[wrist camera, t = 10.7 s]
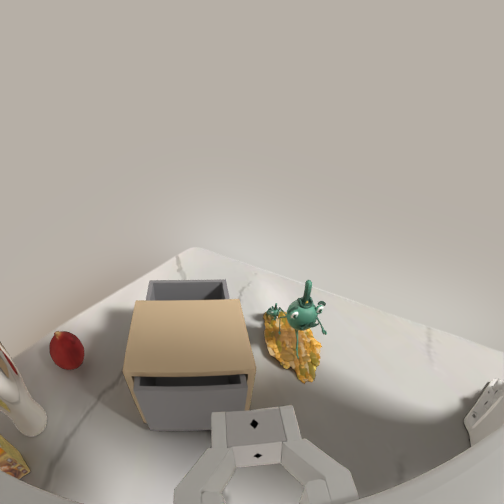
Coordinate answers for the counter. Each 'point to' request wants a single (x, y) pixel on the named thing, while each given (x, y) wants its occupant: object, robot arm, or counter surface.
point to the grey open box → (188, 388)
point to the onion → (66, 350)
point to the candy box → (11, 460)
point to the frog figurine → (295, 335)
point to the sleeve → (188, 342)
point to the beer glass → (19, 399)
